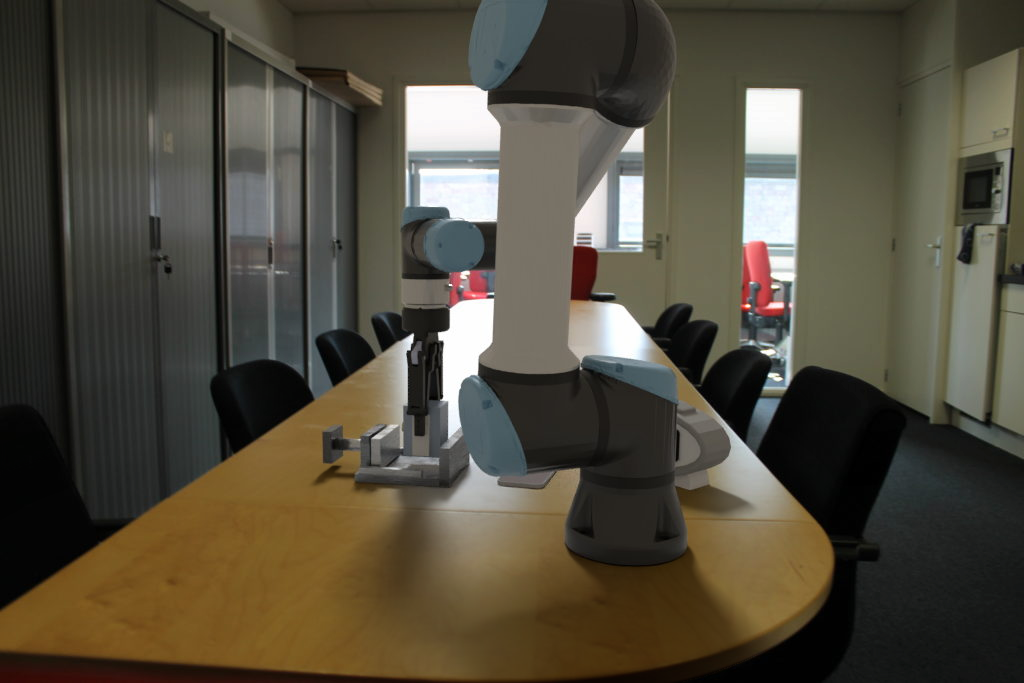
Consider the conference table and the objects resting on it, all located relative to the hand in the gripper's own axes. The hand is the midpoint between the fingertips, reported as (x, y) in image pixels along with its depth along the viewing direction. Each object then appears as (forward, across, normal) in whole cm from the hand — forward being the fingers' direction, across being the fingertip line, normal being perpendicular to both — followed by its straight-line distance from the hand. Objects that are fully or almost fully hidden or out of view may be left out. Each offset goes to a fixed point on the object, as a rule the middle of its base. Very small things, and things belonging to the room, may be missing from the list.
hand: (426, 450), depth 133 cm
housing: (0, 0, 0) cm, 0 cm away
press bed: (+4, 0, +2) cm, 4 cm away
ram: (+2, 0, +11) cm, 11 cm away
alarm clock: (+4, +6, -37) cm, 37 cm away
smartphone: (+4, +3, -17) cm, 17 cm away
